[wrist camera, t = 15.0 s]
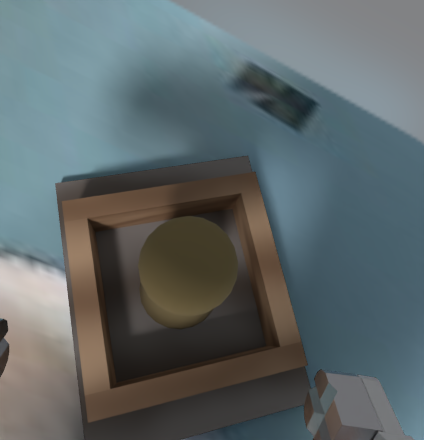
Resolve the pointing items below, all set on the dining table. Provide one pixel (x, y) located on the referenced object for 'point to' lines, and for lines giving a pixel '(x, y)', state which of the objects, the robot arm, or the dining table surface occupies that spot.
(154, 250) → the cork
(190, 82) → the dining table surface
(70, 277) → the collar
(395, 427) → the robot arm
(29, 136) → the dining table surface
